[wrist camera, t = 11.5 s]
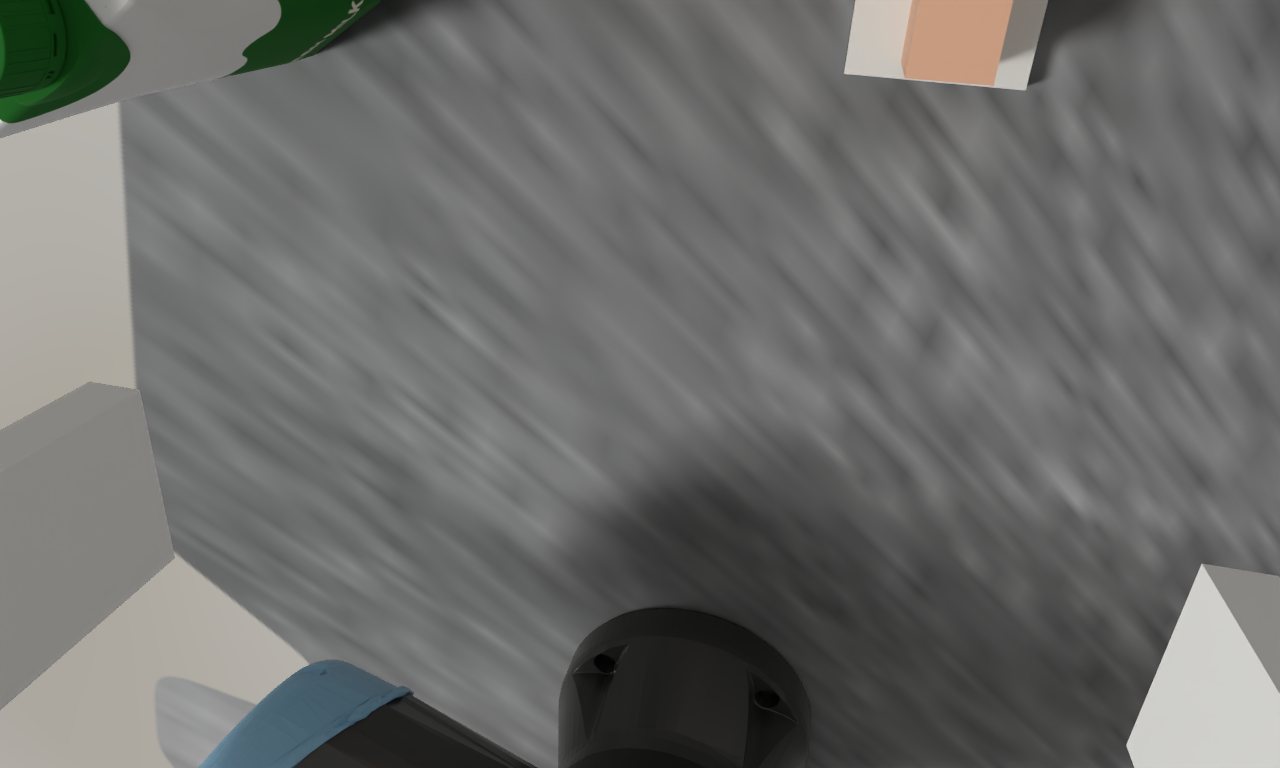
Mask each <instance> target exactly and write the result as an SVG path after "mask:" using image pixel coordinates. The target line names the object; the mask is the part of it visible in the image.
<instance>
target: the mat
mask: <svg viewBox="0 0 1280 768" xmlns="http://www.w3.org/2000/svg"><path fill="white" fill-rule="evenodd" d="M911 3H912V0H856V1H855V7H854V14H853V20H852V26H851V33H850V39H849V45H848V52H847V58H846V64H845V71H844V74H853V75H864V76H874V77H885V78H896V79H907V80H918V81H929V82H940V83H951V84H961V85H972V86H983V87H994V88H1005V89H1016V90H1026V87H1027V83H1028V79H1029V75H1030V71H1031V67H1032V63H1033V59H1034V55H1035V51H1036V47H1037V43H1038V39H1039V35H1040V31H1041V27H1042V23H1043V19H1044V15H1045V11H1046V7H1047V3H1048V0H1013V4H1012V8H1011V13H1010V17H1009V21H1008V26H1007V30H1006V34H1005V39H1004V43H1003V47H1002V52H1001V56H1000V60H999V65H998V69H997V73H996V78H995V82H994V86H989V85H978V84H966V83H955V82H944V81H932V80H921V79H910V78H905V77H904V73H903V69H902V65H901V58H902V52H903V47H904V41H905V36H906V30H907V25H908V19H909V14H910V8H911Z"/></svg>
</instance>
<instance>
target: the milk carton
mask: <svg viewBox="0 0 1280 768" xmlns="http://www.w3.org/2000/svg"><path fill="white" fill-rule="evenodd" d="M381 1H382V0H0V138H3V137H6V136H9V135H12V134H15V133H19V132H22V131H25V130H28V129H31V128H35V127H38V126H41V125H44V124H47V123H51V122H54V121H57V120H60V119H63V118H66V117H70V116H73V115H76V114H79V113H83V112H86V111H90V110H92V109H96V108H99V107H102V106H106V105H109V104H113V103H116V102H119V101H123V100H126V99H130V98H133V97H137V96H141V95H146V94H150V93H155V92H159V91H163V90H168V89H173V88H177V87H182V86H186V85H191V84H195V83H200V82H204V81H209V80H214V79H218V78H223V77H227V76H232V75H236V74H241V73H246V72H250V71H255V70H259V69H264V68H268V67H273V66H277V65H282V64H286V63H291V62H294V61H297V60H300V59H303V58H306V57H309V56H313V55H315V54H316V53H317V52H318V51H320V50H321V49H322V48H323V47H325V46H326V45H327V44H328V43H330V42H331V41H332V40H333V39H335V38H336V37H337V36H338V35H340V34H341V33H342V32H343V31H345V30H346V29H347V28H348V27H350V26H351V25H352V24H354V23H355V22H356V21H357V20H359V19H360V18H361V17H362V16H364V15H365V14H366V13H367V12H369V11H370V10H371V9H372V8H374V7H375V6H376V5H377V4H379V3H380V2H381Z"/></svg>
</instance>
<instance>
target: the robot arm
mask: <svg viewBox="0 0 1280 768" xmlns="http://www.w3.org/2000/svg"><path fill="white" fill-rule="evenodd" d="M174 558H175V557H174V551H173V547H172V542H171V537H170V532H169V528H168V523H167V518H166V513H165V509H164V504H163V499H162V494H161V489H160V485H159V480H158V475H157V470H156V466H155V461H154V456H153V451H152V447H151V442H150V437H149V432H148V428H147V423H146V418H145V413H144V409H143V404H142V399H141V394H140V390H136V389H130V388H124V387H118V386H112V385H105V384H100V383H93V382H88V383H86V384H85V385H83V386H81V387H79V388H77V389H75V390H73V391H72V392H70V393H68V394H66V395H64V396H62V397H61V398H59V399H57V400H55V401H53V402H51V403H50V404H48V405H46V406H44V407H42V408H40V409H39V410H37V411H35V412H33V413H31V414H29V415H27V416H26V417H24V418H22V419H20V420H18V421H16V422H14V423H13V424H11V425H9V426H7V427H5V428H3V429H2V430H0V710H1V709H2V708H3V707H5V706H6V705H7V704H8V703H9V702H10V701H11V700H13V699H14V698H15V697H16V696H17V695H18V694H19V693H21V692H22V691H23V690H24V689H25V688H26V687H27V686H29V685H30V684H31V683H32V682H33V681H34V680H35V679H37V678H38V677H39V676H40V675H41V674H42V673H43V672H45V671H46V670H47V669H48V668H49V667H50V666H51V665H52V664H54V663H55V662H56V661H57V660H58V659H60V658H61V657H62V656H63V655H64V654H65V653H66V652H68V651H69V650H70V649H71V648H72V647H73V646H74V645H76V644H77V643H78V642H79V641H80V640H81V639H82V638H84V637H85V636H86V635H87V634H88V633H89V632H91V631H92V630H93V629H94V628H95V627H96V626H97V625H98V624H100V623H101V622H102V621H103V620H104V619H105V618H107V617H108V616H109V615H110V614H111V613H112V612H113V611H115V610H116V609H117V608H118V607H119V606H120V605H121V604H123V603H124V602H125V601H126V600H127V599H128V598H129V597H130V596H132V595H133V594H134V593H135V592H136V591H137V590H139V589H140V588H141V587H142V586H143V585H144V584H146V582H148V581H149V580H150V579H151V578H152V577H154V575H156V574H157V573H158V572H159V571H160V570H162V569H163V568H164V567H165V566H166V565H167V564H168V563H170V562H171V561H172V560H173V559H174ZM413 694H414V692H413V691H412V690H410V689H409V688H407V687H404V686H401V687H396V686H394V685H392V684H390V683H388V682H386V681H384V680H382V679H380V678H378V677H376V676H374V675H372V674H370V673H368V672H366V671H364V670H362V669H360V668H358V667H356V666H354V665H352V664H350V663H347V662H344V661H340V660H325V661H319V662H316V663H313V664H310V665H308V666H306V667H304V668H302V669H300V670H299V671H297V672H296V673H294V674H293V675H291V676H290V677H289V678H288V679H286V680H285V681H284V682H282V683H281V684H280V685H279V686H277V687H276V688H275V689H274V690H273V691H272V692H270V693H269V694H268V695H267V696H266V697H265V698H264V699H263V700H262V701H261V702H260V703H259V704H258V705H256V706H255V707H254V708H253V709H252V710H251V711H250V712H249V713H248V714H247V715H246V716H245V717H244V718H243V719H242V720H241V721H240V722H239V723H238V725H237V726H236V727H235V728H234V729H233V730H232V731H231V732H230V733H229V734H228V735H227V736H226V737H225V738H224V739H223V740H222V742H221V743H220V744H219V745H218V746H217V747H216V748H215V749H214V750H213V751H212V753H211V754H210V755H209V756H208V757H207V758H206V759H205V761H204V762H203V763H202V764H201V765H200V766H199V768H537V767H535V766H534V765H532V764H530V763H528V762H527V761H525V760H523V759H521V758H520V757H518V756H516V755H514V754H513V753H511V752H509V751H507V750H506V749H504V748H502V747H501V746H499V745H497V744H495V743H494V742H492V741H490V740H488V739H487V738H485V737H483V736H481V735H480V734H478V733H476V732H474V731H473V730H471V729H469V728H468V727H466V726H464V725H462V724H461V723H459V722H457V721H455V720H454V719H452V718H450V717H448V716H447V715H445V714H443V713H441V712H440V711H438V710H436V709H434V708H433V707H431V706H429V705H428V704H426V703H424V702H422V701H421V700H419V699H417V698H415V697H414V696H413ZM810 728H811V713H810V706H809V702H808V699H807V696H806V693H805V690H804V688H803V686H802V684H801V682H800V681H799V679H798V677H797V676H796V674H795V673H794V671H793V670H792V668H791V667H790V666H789V665H788V663H787V662H786V661H785V660H784V659H783V658H782V657H781V656H780V655H779V654H778V653H777V652H776V651H775V650H774V649H772V648H771V647H770V646H769V645H768V644H766V643H765V642H764V641H762V640H761V639H759V638H758V637H756V636H755V635H753V634H752V633H750V632H748V631H746V630H744V629H743V628H741V627H739V626H736V625H734V624H732V623H730V622H727V621H725V620H722V619H719V618H716V617H713V616H710V615H706V614H702V613H698V612H692V611H686V610H677V609H652V610H643V611H638V612H633V613H629V614H625V615H622V616H619V617H617V618H614V619H612V620H610V621H608V622H606V623H604V624H603V625H601V626H599V627H598V628H597V629H595V630H594V631H593V632H592V633H590V634H589V635H588V636H587V637H586V638H585V639H584V641H583V642H582V643H581V644H580V646H579V647H578V649H577V651H576V652H575V654H574V657H573V659H572V661H571V664H570V666H569V669H568V671H567V674H566V676H565V679H564V681H563V684H562V688H561V692H560V698H559V749H558V768H805V766H806V762H807V759H808V752H809V741H810ZM1126 746H1127V749H1128V752H1129V754H1130V757H1131V760H1132V763H1133V765H1134V768H1280V577H1279V576H1275V575H1269V574H1263V573H1257V572H1251V571H1245V570H1238V569H1232V568H1226V567H1220V566H1214V565H1208V564H1201V567H1200V569H1199V572H1198V574H1197V576H1196V579H1195V581H1194V584H1193V586H1192V588H1191V591H1190V593H1189V596H1188V598H1187V600H1186V603H1185V605H1184V608H1183V610H1182V612H1181V615H1180V617H1179V620H1178V622H1177V624H1176V627H1175V629H1174V632H1173V634H1172V636H1171V639H1170V641H1169V644H1168V646H1167V648H1166V651H1165V653H1164V656H1163V658H1162V660H1161V663H1160V665H1159V668H1158V670H1157V672H1156V675H1155V677H1154V680H1153V682H1152V685H1151V687H1150V689H1149V692H1148V694H1147V697H1146V699H1145V701H1144V704H1143V706H1142V709H1141V711H1140V713H1139V716H1138V718H1137V721H1136V723H1135V725H1134V728H1133V730H1132V733H1131V735H1130V737H1129V740H1128V742H1127V745H1126Z"/></svg>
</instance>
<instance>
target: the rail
mask: <svg viewBox="0 0 1280 768" xmlns="http://www.w3.org/2000/svg"><path fill="white" fill-rule="evenodd" d="M1012 4H1013V0H912V3H911V8H910V14H909V19H908V25H907V30H906V36H905V41H904V47H903V52H902V58H901V65H902V69H903V73H904V77H905V78H910V79H921V80H932V81H944V82H955V83H966V84H978V85H989V86H994V82H995V78H996V73H997V69H998V65H999V60H1000V56H1001V52H1002V47H1003V43H1004V39H1005V34H1006V30H1007V26H1008V21H1009V17H1010V13H1011V8H1012Z"/></svg>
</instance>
